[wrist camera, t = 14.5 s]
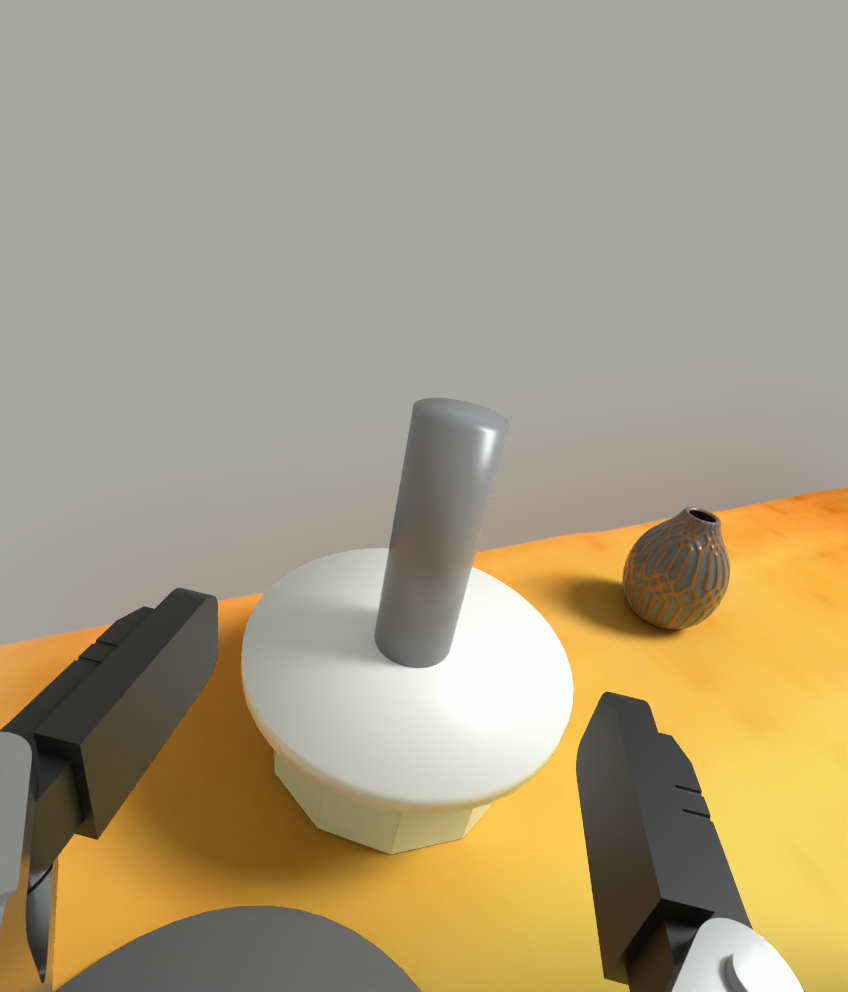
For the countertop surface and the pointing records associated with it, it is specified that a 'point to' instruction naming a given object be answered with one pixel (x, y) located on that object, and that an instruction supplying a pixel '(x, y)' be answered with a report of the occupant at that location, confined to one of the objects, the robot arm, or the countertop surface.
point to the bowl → (373, 817)
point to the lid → (412, 646)
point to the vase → (678, 570)
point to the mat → (246, 957)
